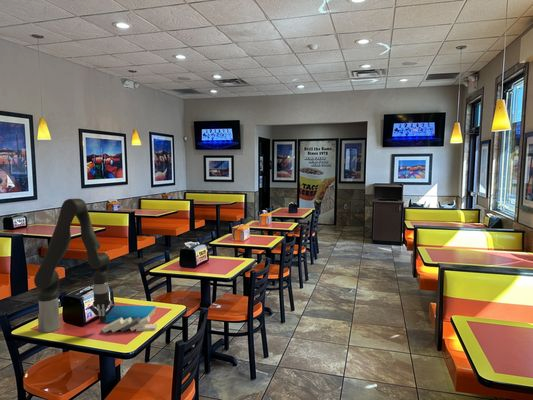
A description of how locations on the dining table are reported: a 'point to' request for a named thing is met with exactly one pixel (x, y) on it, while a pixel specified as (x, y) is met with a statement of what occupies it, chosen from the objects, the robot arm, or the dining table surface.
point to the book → (130, 312)
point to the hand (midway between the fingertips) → (102, 322)
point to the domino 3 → (131, 324)
